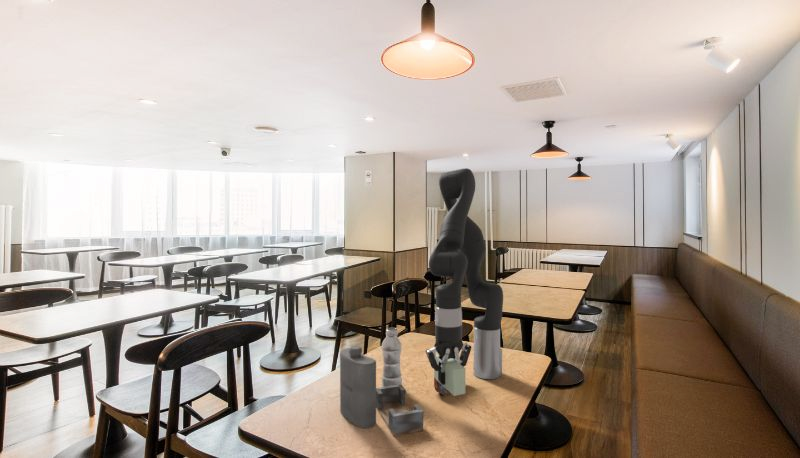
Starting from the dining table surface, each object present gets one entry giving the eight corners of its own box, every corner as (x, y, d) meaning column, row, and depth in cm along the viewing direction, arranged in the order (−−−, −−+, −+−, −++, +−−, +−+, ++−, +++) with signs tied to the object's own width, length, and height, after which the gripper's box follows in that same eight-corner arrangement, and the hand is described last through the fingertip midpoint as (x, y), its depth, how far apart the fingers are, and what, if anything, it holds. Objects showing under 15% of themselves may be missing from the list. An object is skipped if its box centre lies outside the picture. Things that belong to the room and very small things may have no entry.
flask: (334, 409, 114) (334, 342, 113) (352, 403, 117) (351, 338, 116) (361, 432, 102) (361, 357, 101) (379, 425, 105) (379, 352, 105)
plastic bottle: (399, 394, 123) (400, 332, 122) (379, 392, 124) (379, 331, 124) (403, 386, 129) (403, 327, 129) (384, 384, 131) (384, 325, 130)
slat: (444, 375, 115) (444, 352, 115) (465, 393, 104) (465, 368, 103) (434, 377, 114) (434, 354, 113) (453, 396, 102) (453, 370, 102)
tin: (440, 398, 120) (440, 372, 120) (432, 395, 122) (432, 369, 122) (465, 383, 132) (465, 358, 132) (457, 380, 134) (457, 356, 134)
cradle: (401, 400, 119) (401, 384, 119) (423, 430, 103) (423, 411, 102) (374, 405, 116) (374, 388, 116) (393, 436, 100) (393, 416, 100)
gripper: (464, 316, 114) (464, 373, 115) (420, 321, 109) (420, 381, 110) (477, 322, 107) (477, 383, 108) (431, 329, 102) (432, 392, 103)
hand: (449, 382), depth 109 cm, fingers closed on slat, 3 cm apart
